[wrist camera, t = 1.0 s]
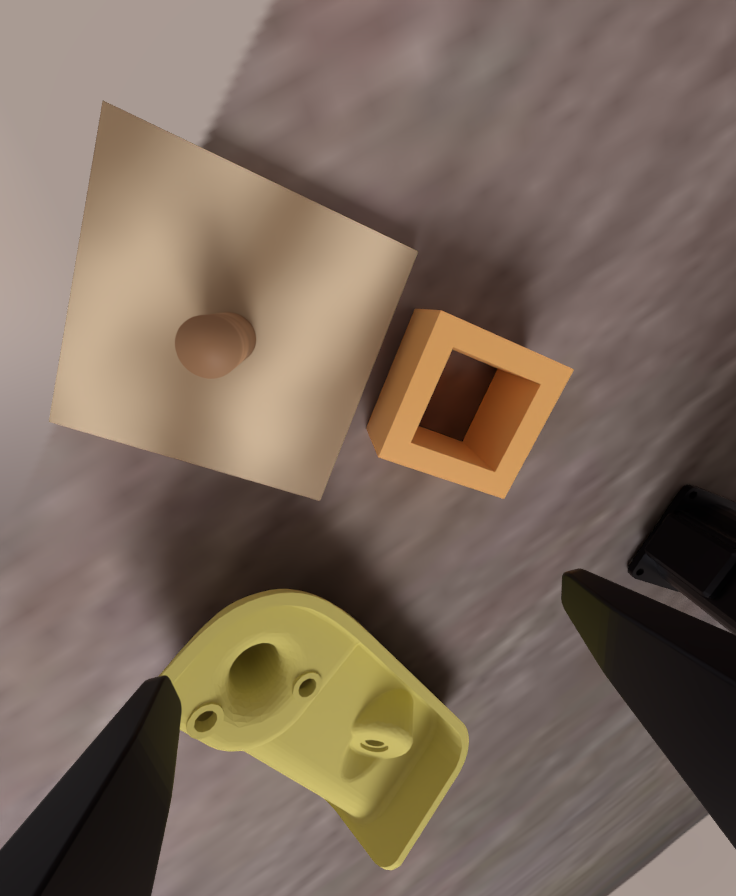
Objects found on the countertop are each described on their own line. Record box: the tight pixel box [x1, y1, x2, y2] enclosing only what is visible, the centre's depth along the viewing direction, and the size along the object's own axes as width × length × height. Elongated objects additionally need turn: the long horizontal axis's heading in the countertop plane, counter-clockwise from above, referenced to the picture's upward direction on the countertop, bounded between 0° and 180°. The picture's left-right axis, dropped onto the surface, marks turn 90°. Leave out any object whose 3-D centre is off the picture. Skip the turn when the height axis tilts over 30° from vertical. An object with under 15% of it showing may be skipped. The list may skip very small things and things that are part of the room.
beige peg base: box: [49, 101, 418, 501], centre depth 15 cm, size 12×12×5 cm
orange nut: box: [366, 309, 574, 499], centre depth 18 cm, size 6×6×4 cm
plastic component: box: [158, 589, 469, 870], centre depth 23 cm, size 20×7×10 cm
